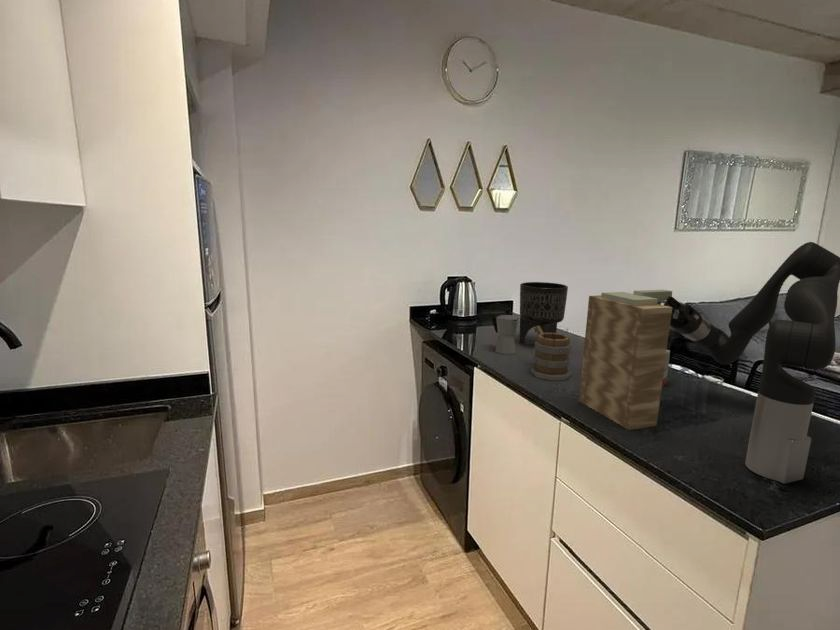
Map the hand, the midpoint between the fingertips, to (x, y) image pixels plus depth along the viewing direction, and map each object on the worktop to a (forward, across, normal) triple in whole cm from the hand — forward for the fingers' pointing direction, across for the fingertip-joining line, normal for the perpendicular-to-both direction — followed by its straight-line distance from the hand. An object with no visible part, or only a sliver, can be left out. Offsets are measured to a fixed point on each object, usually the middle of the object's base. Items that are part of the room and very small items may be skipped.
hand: (655, 296), depth 124 cm
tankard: (-11, -37, +32) cm, 50 cm away
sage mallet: (+3, 0, +3) cm, 4 cm away
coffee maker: (-9, -64, +33) cm, 73 cm away
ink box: (-35, -17, +18) cm, 43 cm away
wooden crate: (-9, 0, +33) cm, 34 cm away
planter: (-26, -68, +23) cm, 76 cm away
